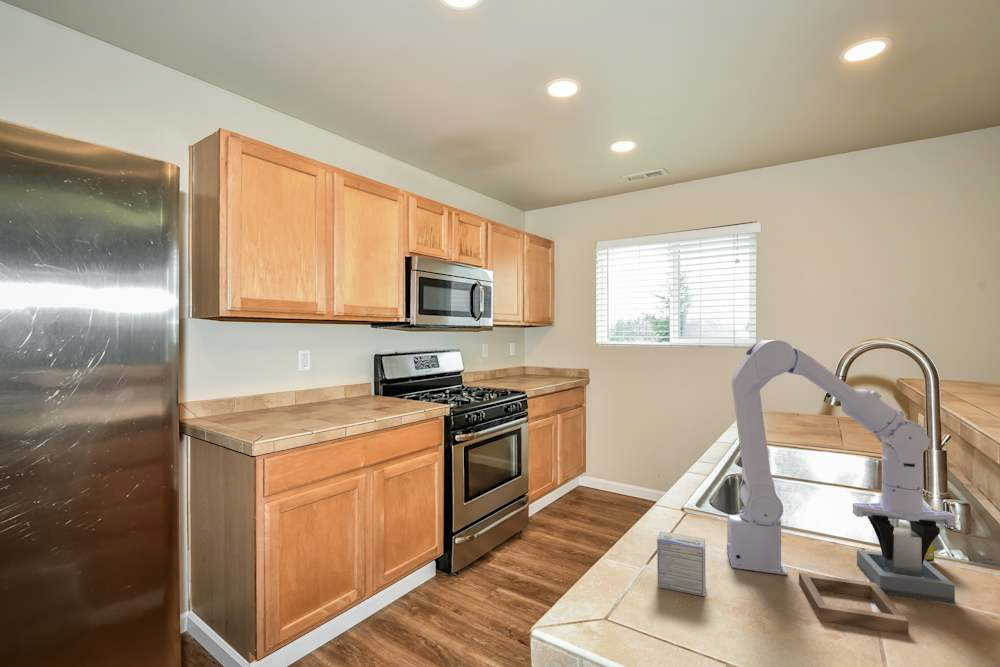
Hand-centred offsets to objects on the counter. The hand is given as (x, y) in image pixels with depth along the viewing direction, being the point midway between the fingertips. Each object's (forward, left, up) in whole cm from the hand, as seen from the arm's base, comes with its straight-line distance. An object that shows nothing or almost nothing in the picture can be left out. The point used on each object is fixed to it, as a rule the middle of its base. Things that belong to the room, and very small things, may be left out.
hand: (902, 559), depth 86 cm
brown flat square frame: (-12, -12, -4) cm, 17 cm away
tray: (0, 0, -4) cm, 4 cm away
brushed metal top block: (0, 0, -2) cm, 2 cm away
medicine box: (-38, -14, -4) cm, 41 cm away
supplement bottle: (+7, +12, -4) cm, 15 cm away
